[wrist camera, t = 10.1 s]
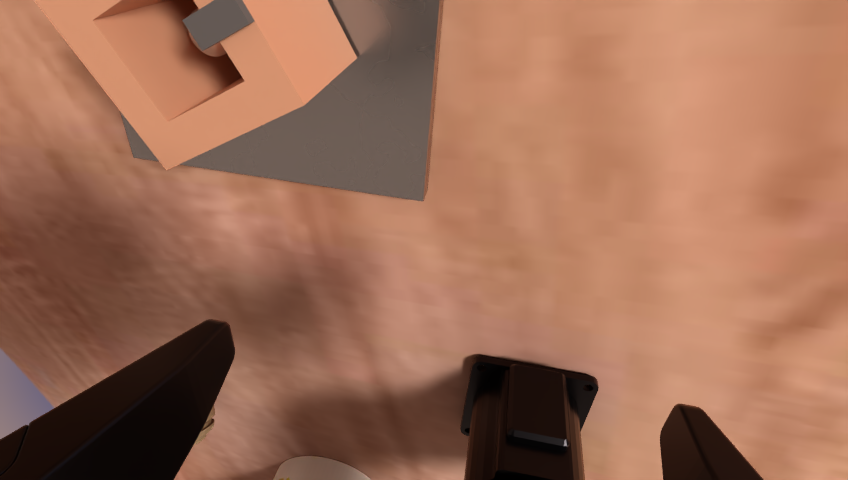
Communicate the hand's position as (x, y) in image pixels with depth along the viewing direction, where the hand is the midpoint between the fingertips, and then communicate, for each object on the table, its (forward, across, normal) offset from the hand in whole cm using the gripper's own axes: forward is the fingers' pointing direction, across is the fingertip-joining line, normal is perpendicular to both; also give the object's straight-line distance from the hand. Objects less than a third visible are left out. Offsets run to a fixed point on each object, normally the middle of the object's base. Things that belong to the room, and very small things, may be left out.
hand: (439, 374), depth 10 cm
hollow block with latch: (+11, +8, -4) cm, 14 cm away
